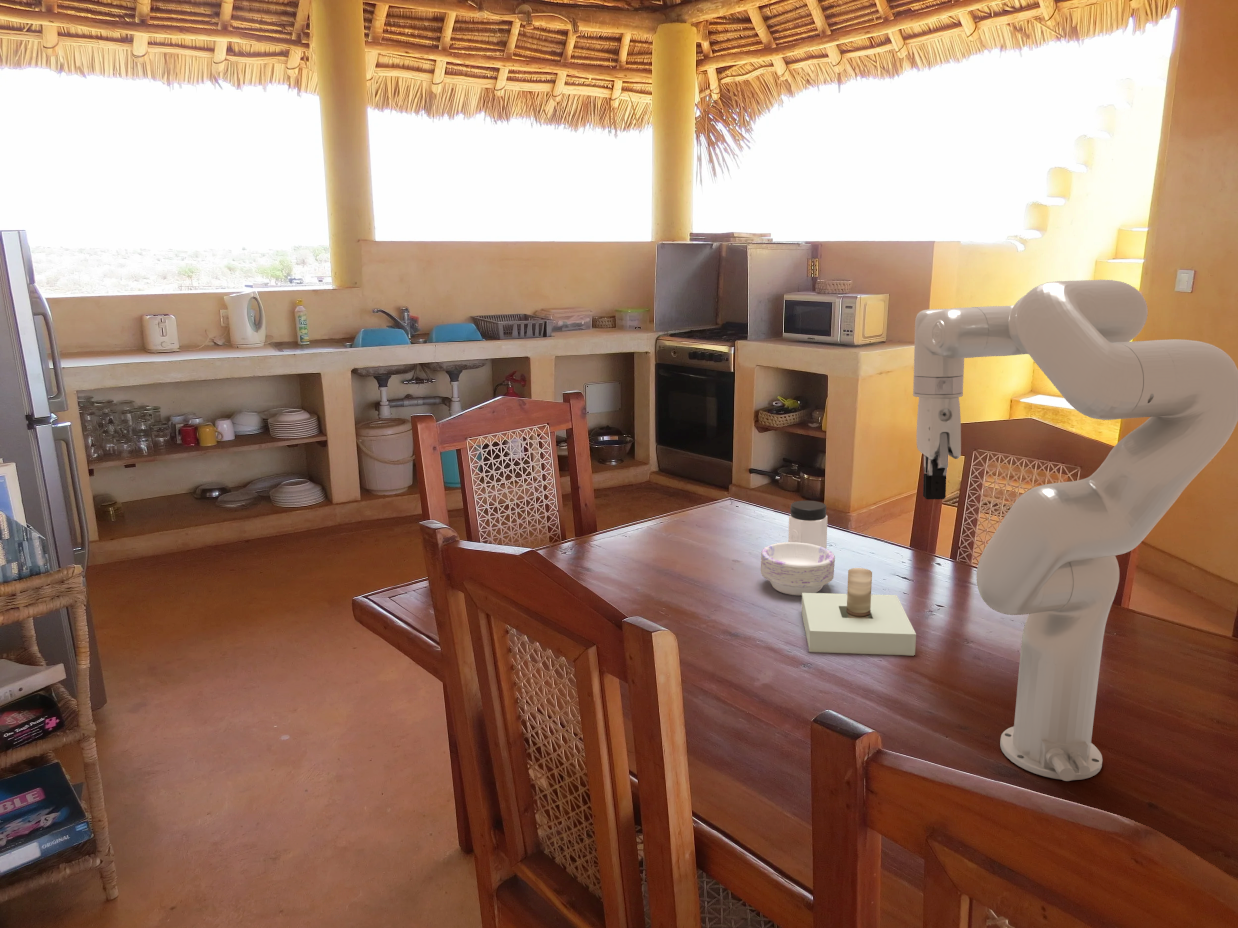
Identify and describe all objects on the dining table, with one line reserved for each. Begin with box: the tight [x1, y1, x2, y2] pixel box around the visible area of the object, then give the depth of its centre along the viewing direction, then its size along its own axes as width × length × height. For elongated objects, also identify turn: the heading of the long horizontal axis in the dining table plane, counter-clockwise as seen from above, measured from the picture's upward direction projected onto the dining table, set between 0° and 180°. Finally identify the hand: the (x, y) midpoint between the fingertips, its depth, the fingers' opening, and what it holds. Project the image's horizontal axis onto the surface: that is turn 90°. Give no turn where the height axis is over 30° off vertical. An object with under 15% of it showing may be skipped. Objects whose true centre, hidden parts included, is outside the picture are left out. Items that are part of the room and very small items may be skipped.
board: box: [801, 592, 917, 657], centre depth 158 cm, size 18×18×4 cm
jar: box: [787, 500, 828, 549], centre depth 200 cm, size 9×8×12 cm
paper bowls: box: [760, 541, 836, 597], centre depth 180 cm, size 15×15×8 cm
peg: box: [846, 567, 873, 618], centre depth 156 cm, size 4×4×12 cm
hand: (934, 497), depth 140 cm, fingers closed
